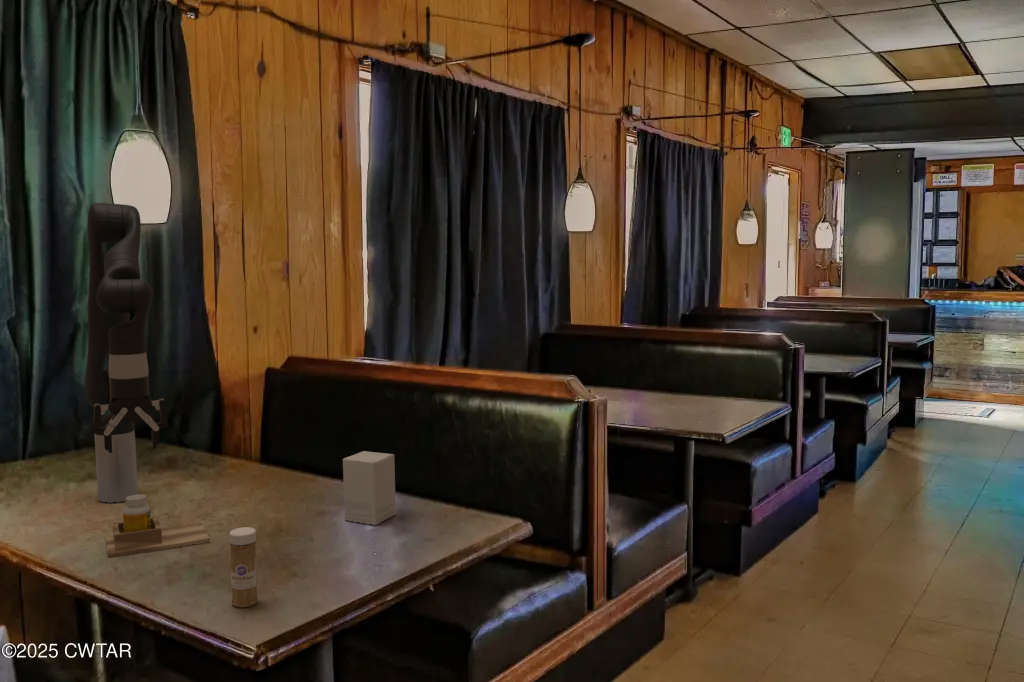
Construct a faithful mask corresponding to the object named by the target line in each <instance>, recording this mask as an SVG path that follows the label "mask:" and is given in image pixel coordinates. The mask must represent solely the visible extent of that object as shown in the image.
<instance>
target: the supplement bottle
mask: <svg viewBox="0 0 1024 682" xmlns="http://www.w3.org/2000/svg"><path fill="white" fill-rule="evenodd" d="M125 504H126V506H125V507H124V508H123V510H122V518H123V519H122V522H124V533H127V532H134V531H141V530H148V529H151V518H152V517H151V507H150V506H149V505H148V504H147V496H146V494H138V495H132V496H128V497H127V498H126V501H125Z"/></svg>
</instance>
